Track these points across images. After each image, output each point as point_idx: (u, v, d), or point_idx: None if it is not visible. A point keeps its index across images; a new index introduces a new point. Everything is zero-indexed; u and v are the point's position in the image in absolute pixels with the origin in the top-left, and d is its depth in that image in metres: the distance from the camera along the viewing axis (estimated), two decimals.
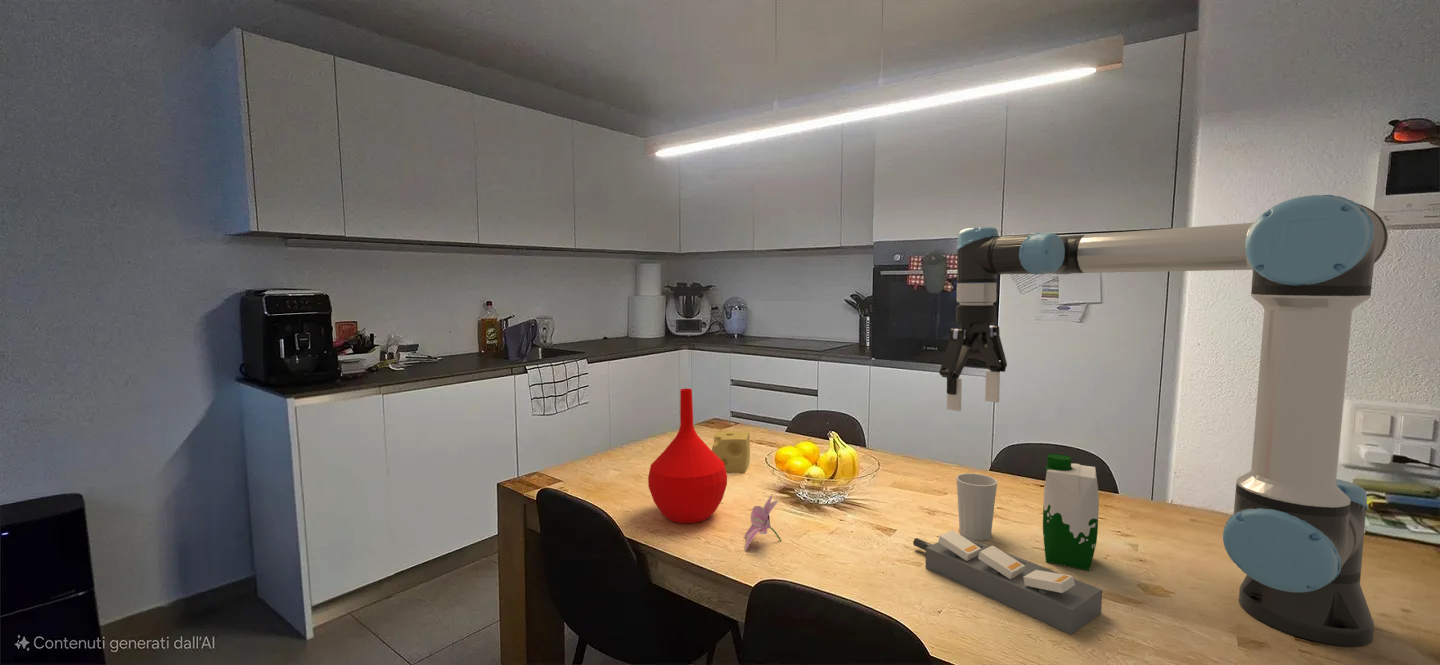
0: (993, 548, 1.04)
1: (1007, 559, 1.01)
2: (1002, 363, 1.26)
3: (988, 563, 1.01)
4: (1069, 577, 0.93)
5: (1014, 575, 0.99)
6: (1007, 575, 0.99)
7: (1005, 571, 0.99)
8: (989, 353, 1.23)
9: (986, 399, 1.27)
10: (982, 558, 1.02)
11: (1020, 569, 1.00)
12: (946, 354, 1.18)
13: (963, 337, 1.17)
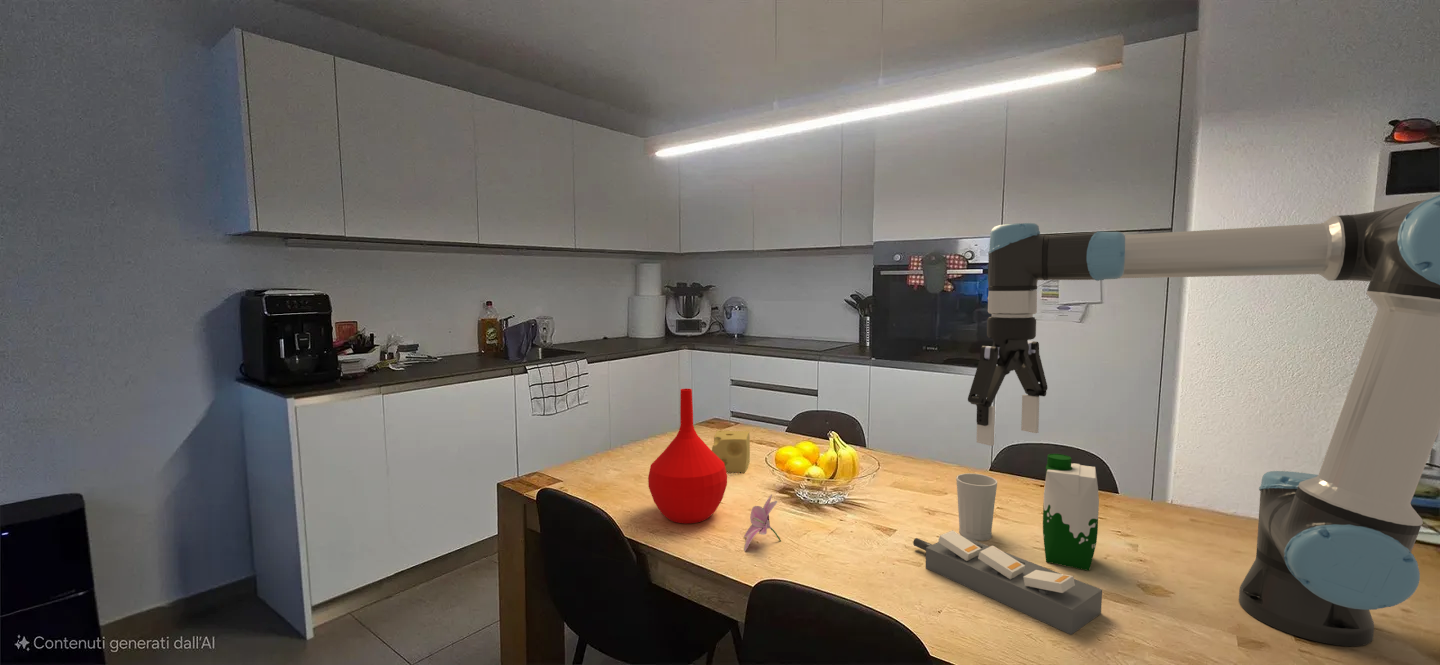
0: (993, 548, 1.04)
1: (1007, 559, 1.01)
2: (1042, 386, 1.06)
3: (988, 563, 1.01)
4: (1069, 577, 0.93)
5: (1014, 575, 0.99)
6: (1007, 575, 0.99)
7: (1005, 571, 0.99)
8: (1027, 374, 1.03)
9: (1022, 428, 1.07)
10: (982, 558, 1.02)
11: (1020, 569, 1.00)
12: (976, 377, 0.97)
13: (997, 356, 0.97)
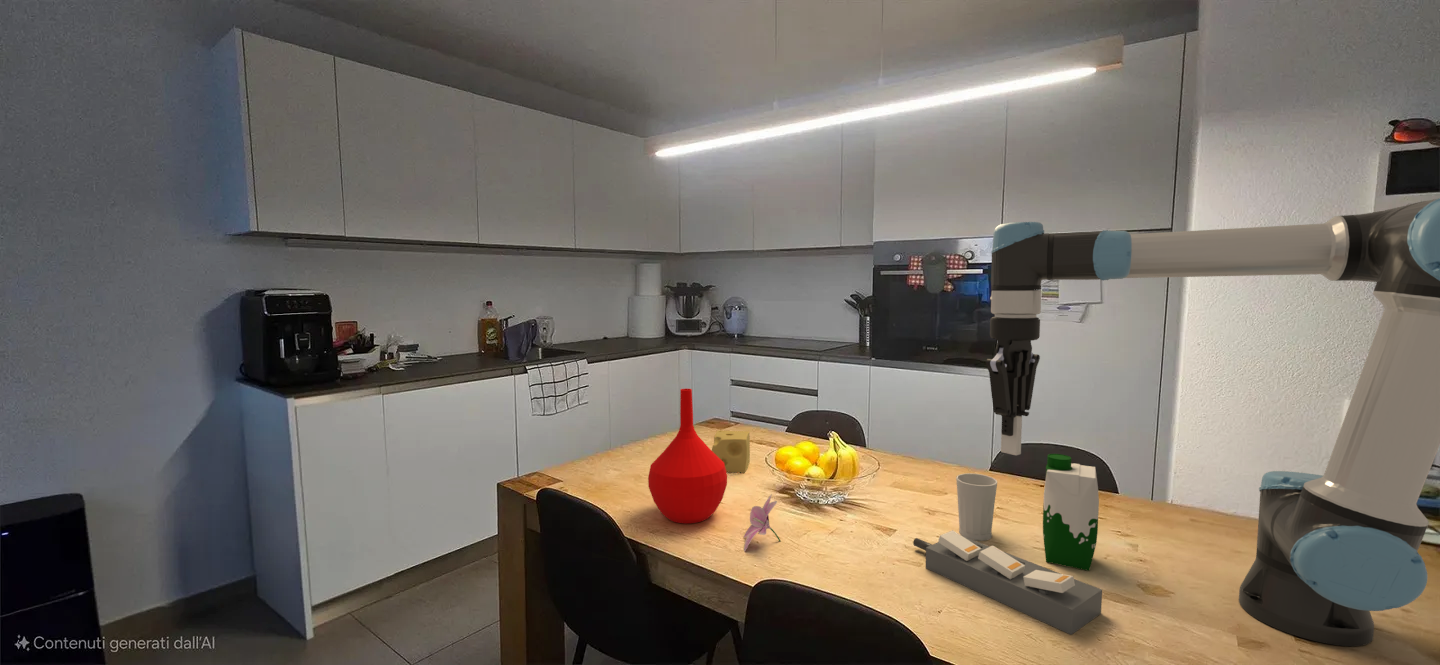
0: (993, 548, 1.04)
1: (1007, 559, 1.01)
2: (1026, 402, 1.01)
3: (988, 563, 1.01)
4: (1069, 577, 0.93)
5: (1014, 575, 0.99)
6: (1007, 575, 0.99)
7: (1005, 571, 0.99)
8: (1019, 382, 1.00)
9: None
10: (982, 558, 1.02)
11: (1020, 569, 1.00)
12: (993, 390, 0.98)
13: (1004, 367, 0.96)
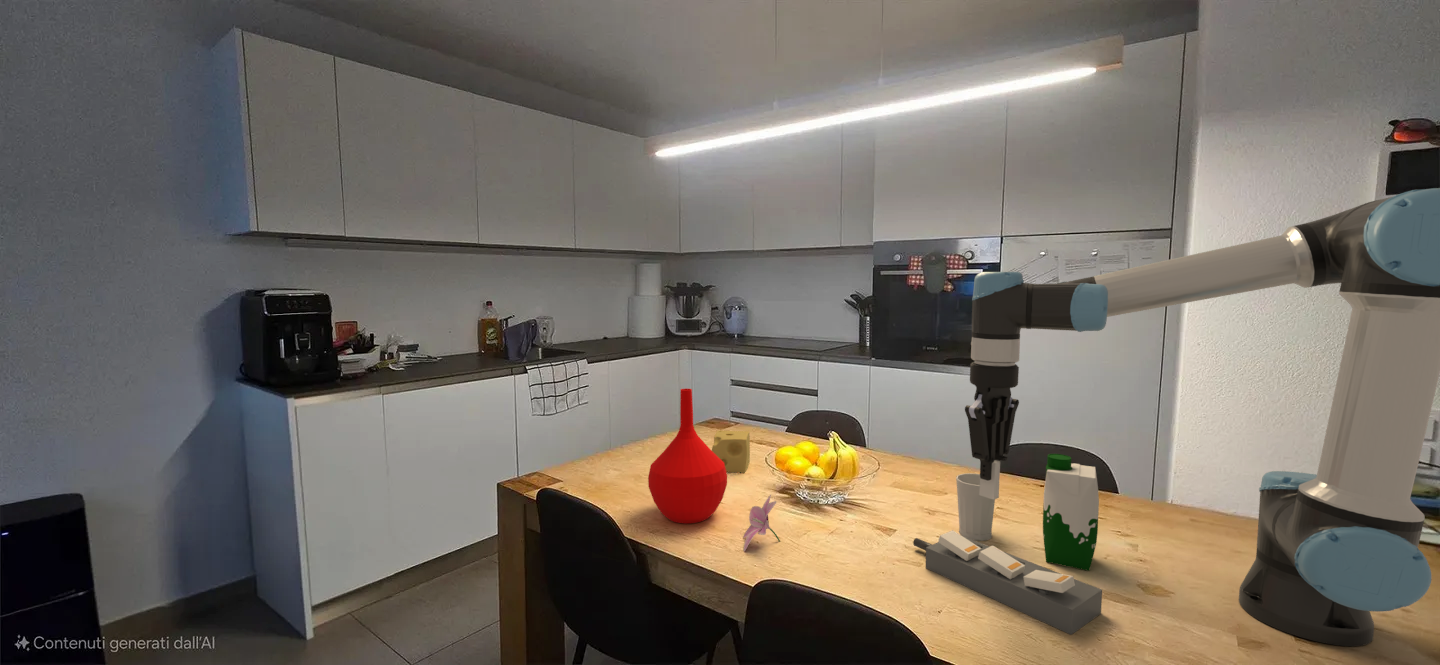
0: (993, 548, 1.04)
1: (1007, 559, 1.01)
2: (1004, 446, 1.02)
3: (988, 563, 1.01)
4: (1069, 577, 0.93)
5: (1014, 575, 0.99)
6: (1007, 575, 0.99)
7: (1005, 571, 0.99)
8: (998, 427, 1.01)
9: None
10: (982, 558, 1.02)
11: (1020, 569, 1.00)
12: (971, 436, 1.00)
13: (983, 414, 0.97)
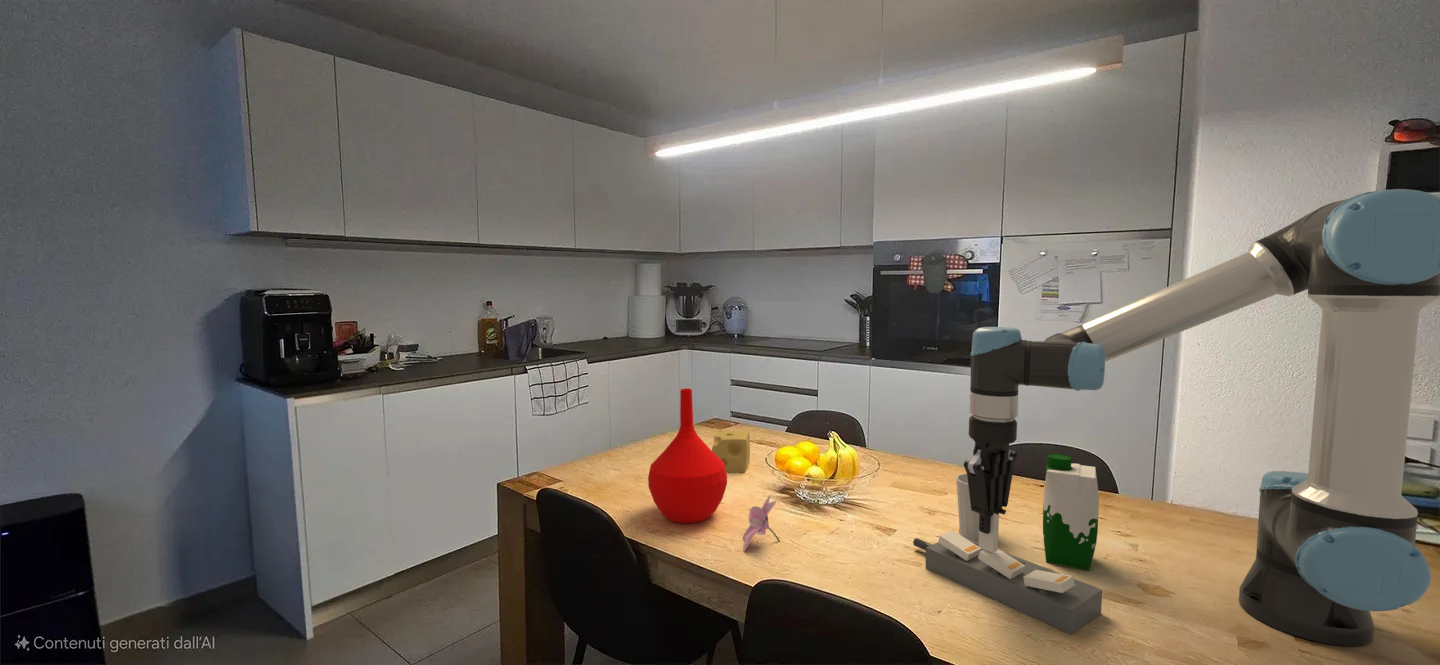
0: None
1: (1007, 559, 1.01)
2: (1003, 499, 1.03)
3: (988, 563, 1.01)
4: (1069, 577, 0.93)
5: (1014, 575, 0.99)
6: (1007, 575, 0.99)
7: (1005, 571, 0.99)
8: (997, 481, 1.02)
9: None
10: (982, 558, 1.02)
11: (1020, 569, 1.00)
12: (970, 490, 1.00)
13: (981, 470, 0.98)
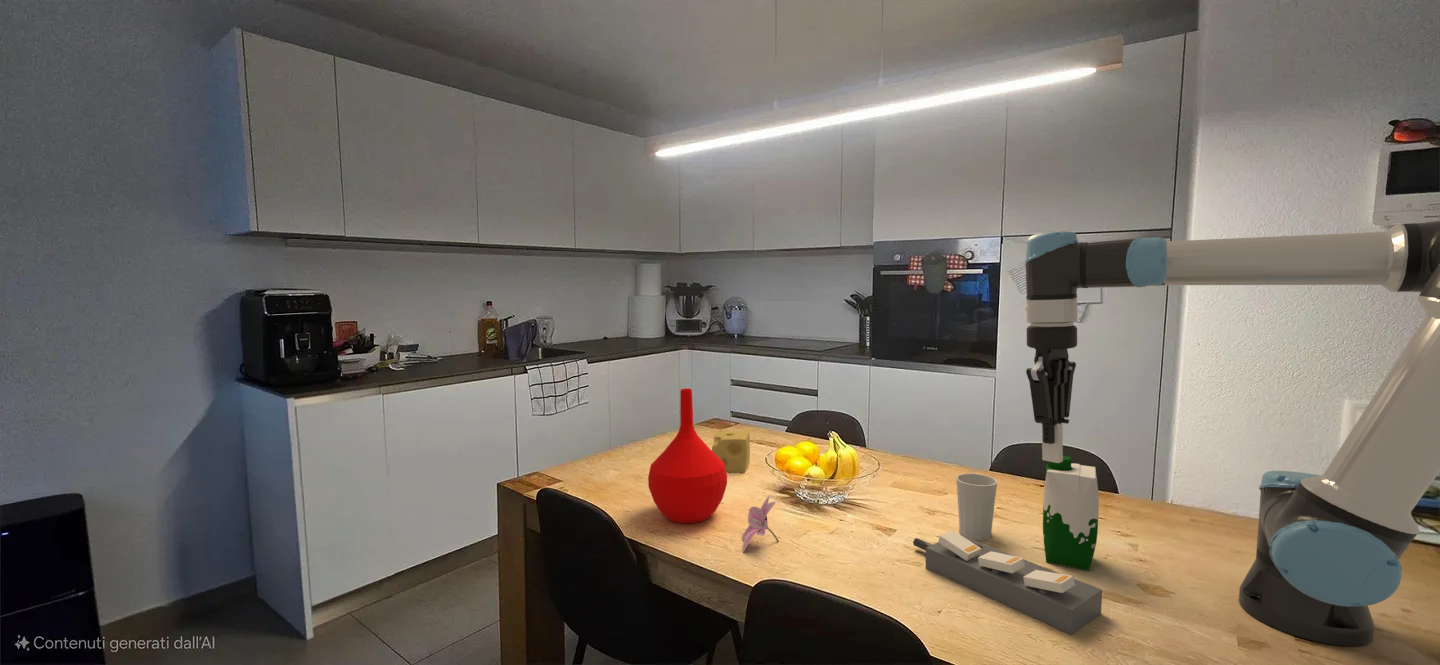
0: (991, 553, 1.04)
1: (1006, 557, 1.01)
2: (1065, 409, 1.02)
3: (989, 566, 1.01)
4: (1069, 577, 0.93)
5: (1015, 569, 0.99)
6: (1008, 570, 0.98)
7: (1005, 567, 0.99)
8: (1058, 390, 1.00)
9: None
10: (982, 564, 1.02)
11: (1020, 563, 1.00)
12: (1033, 399, 0.99)
13: (1045, 375, 0.97)
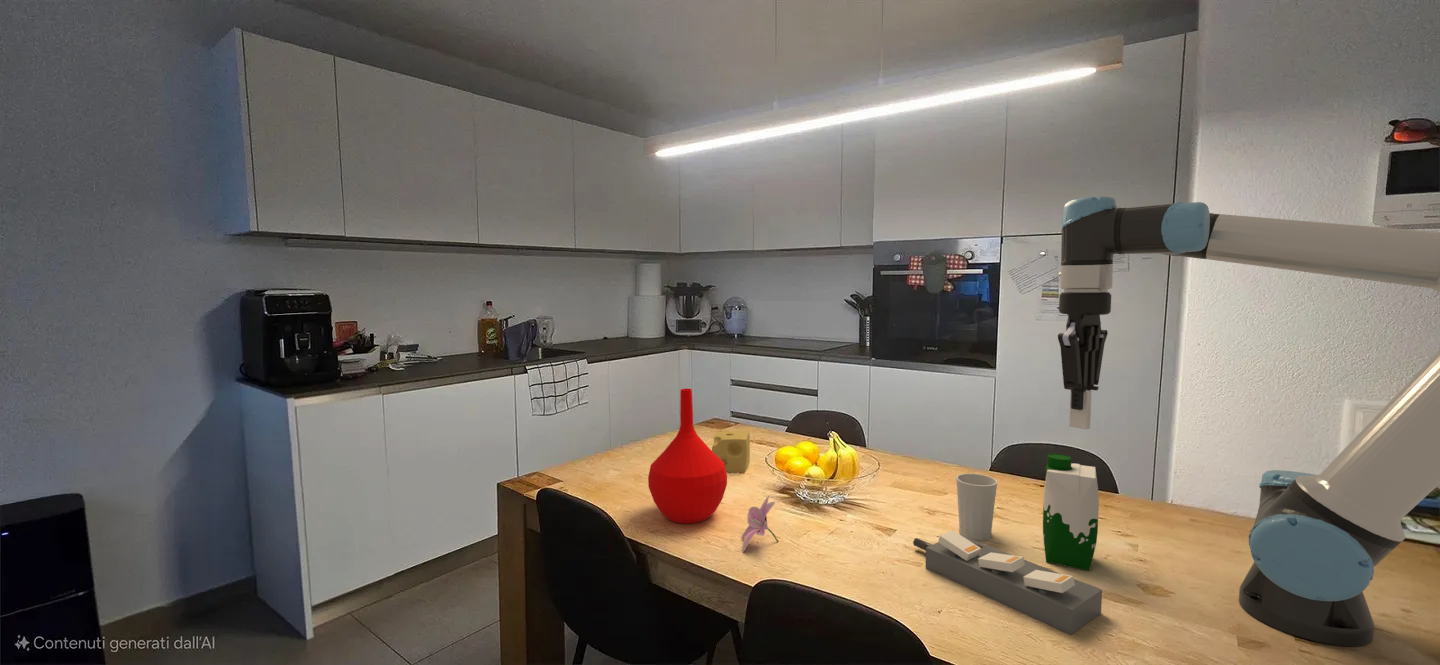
0: (991, 553, 1.04)
1: (1005, 557, 1.01)
2: (1095, 377, 1.02)
3: (989, 566, 1.01)
4: (1069, 577, 0.93)
5: (1015, 567, 0.99)
6: (1008, 569, 0.98)
7: (1005, 566, 0.99)
8: (1089, 356, 1.01)
9: None
10: (982, 565, 1.02)
11: (1020, 561, 1.00)
12: (1064, 364, 0.99)
13: (1077, 341, 0.97)
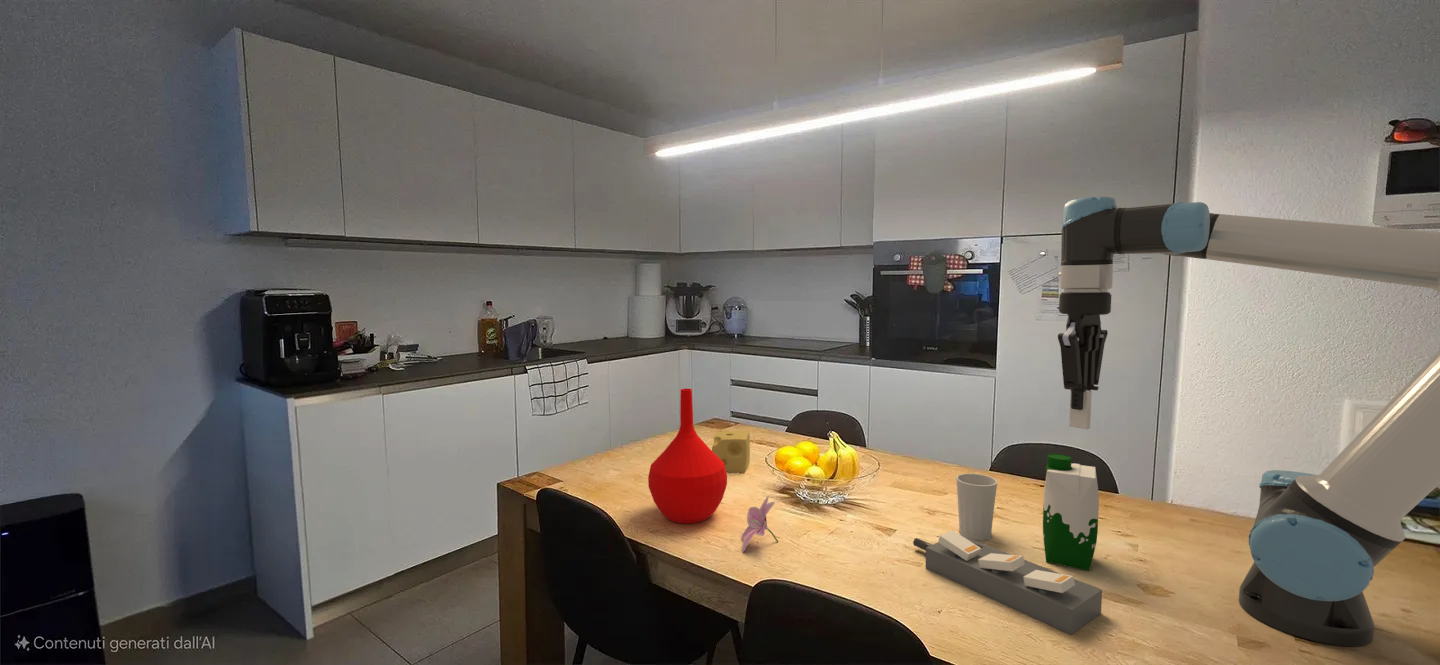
0: (991, 554, 1.04)
1: (1005, 557, 1.02)
2: (1095, 377, 1.02)
3: (989, 567, 1.01)
4: (1069, 577, 0.93)
5: (1015, 566, 0.99)
6: (1008, 568, 0.98)
7: (1005, 565, 0.99)
8: (1089, 356, 1.01)
9: None
10: (982, 565, 1.02)
11: (1020, 560, 1.00)
12: (1064, 364, 0.99)
13: (1077, 340, 0.97)
